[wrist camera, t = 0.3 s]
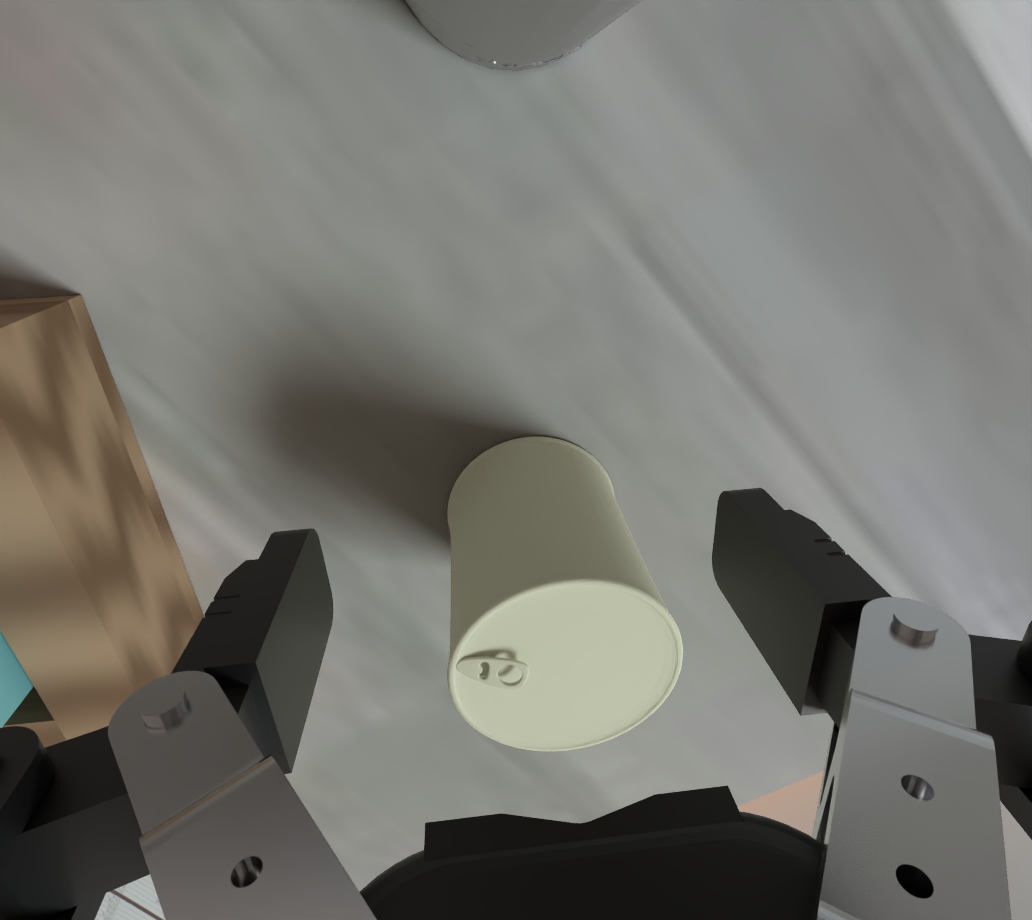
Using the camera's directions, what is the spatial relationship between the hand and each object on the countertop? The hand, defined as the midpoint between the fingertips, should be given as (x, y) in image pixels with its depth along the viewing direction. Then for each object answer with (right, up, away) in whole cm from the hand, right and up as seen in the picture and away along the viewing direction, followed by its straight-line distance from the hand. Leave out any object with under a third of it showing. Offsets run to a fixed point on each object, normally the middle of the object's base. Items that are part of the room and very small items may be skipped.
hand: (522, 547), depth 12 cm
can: (+1, -1, +21) cm, 21 cm away
